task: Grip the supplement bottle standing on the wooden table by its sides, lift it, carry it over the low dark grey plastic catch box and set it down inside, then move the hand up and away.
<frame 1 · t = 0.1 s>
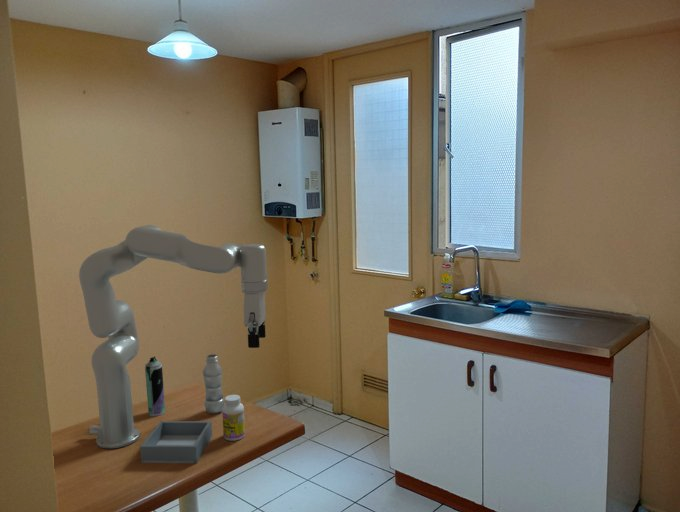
hand: (257, 342, 165), 31 cm above the table, tool pointing down, fingers open, 9 cm apart
spray can: (157, 413, 190), on the table
supplement bottle: (234, 437, 172), on the table
plastic bottle: (215, 412, 191), on the table
catch box: (178, 449, 165), on the table
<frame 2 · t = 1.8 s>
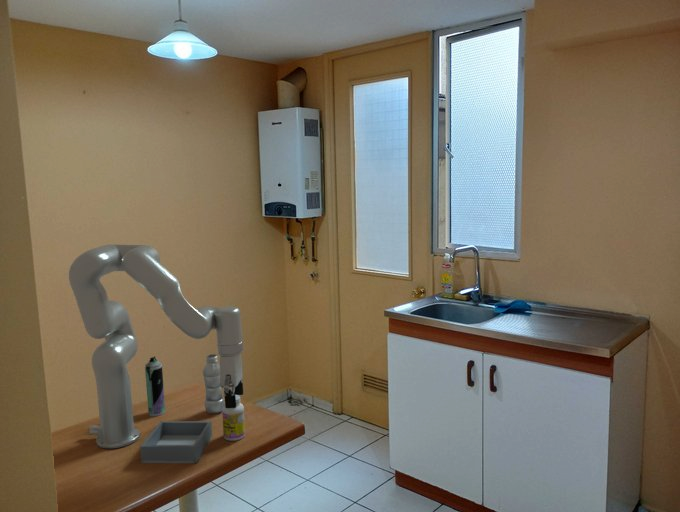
hand: (234, 401, 170), 12 cm above the table, tool pointing down, fingers open, 9 cm apart
nothing on the table moved.
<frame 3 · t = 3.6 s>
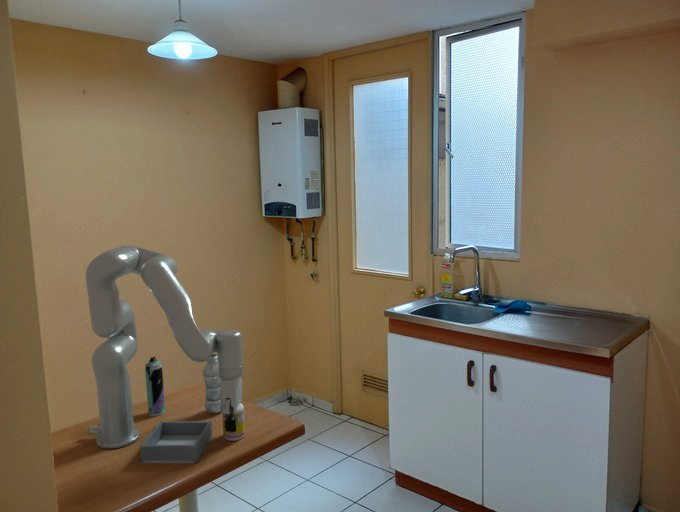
hand: (233, 425, 172), 4 cm above the table, tool pointing down, fingers closed on supplement bottle, 6 cm apart
supplement bottle: (234, 437, 172), on the table, touching gripper
everything else where it was.
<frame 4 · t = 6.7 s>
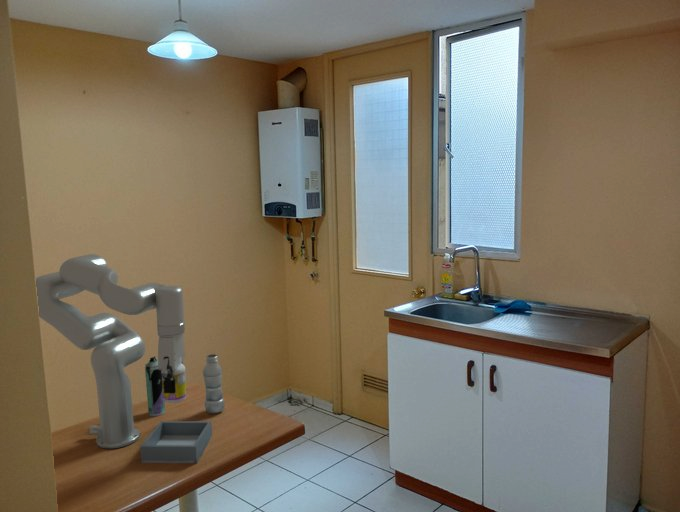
hand: (174, 387, 162), 19 cm above the table, tool pointing down, fingers closed on supplement bottle, 6 cm apart
supplement bottle: (174, 399, 163), point 15 cm above the table, touching gripper
everything else where it was.
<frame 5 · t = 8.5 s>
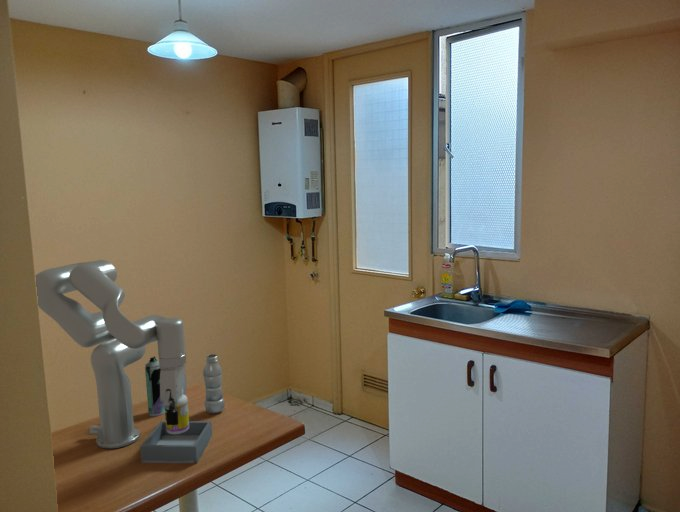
hand: (177, 418, 163), 10 cm above the table, tool pointing down, fingers closed on supplement bottle, 6 cm apart
supplement bottle: (178, 430, 164), point 6 cm above the table, touching gripper
everything else where it was.
when the fingers open (6 cm above the table, at t = 10.1 s): supplement bottle drops 2 cm, resting on catch box.
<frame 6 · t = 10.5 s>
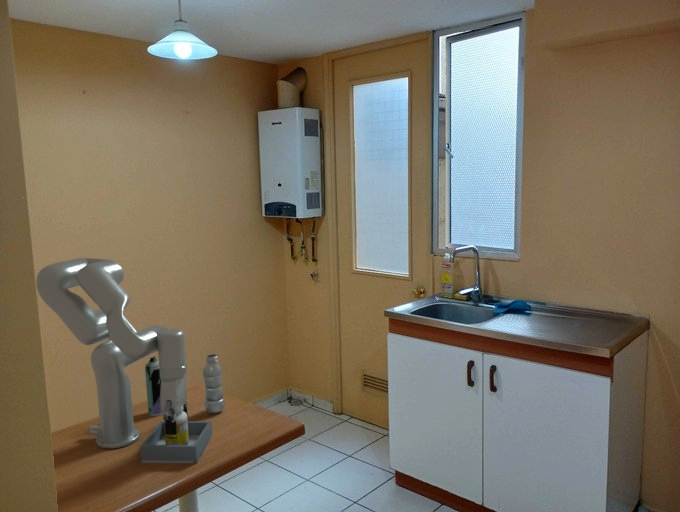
hand: (176, 426, 164), 7 cm above the table, tool pointing down, fingers open, 9 cm apart
supplement bottle: (177, 447, 165), point 1 cm above the table, touching catch box
everything else where it was.
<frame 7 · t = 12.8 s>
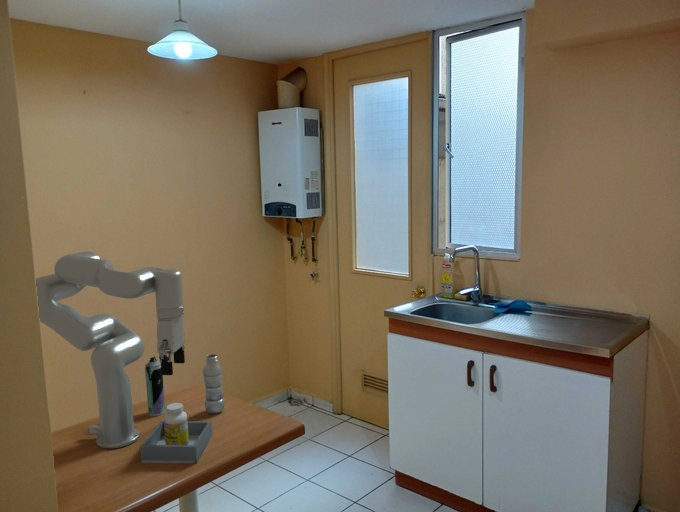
hand: (173, 368, 162), 25 cm above the table, tool pointing down, fingers open, 9 cm apart
nothing on the table moved.
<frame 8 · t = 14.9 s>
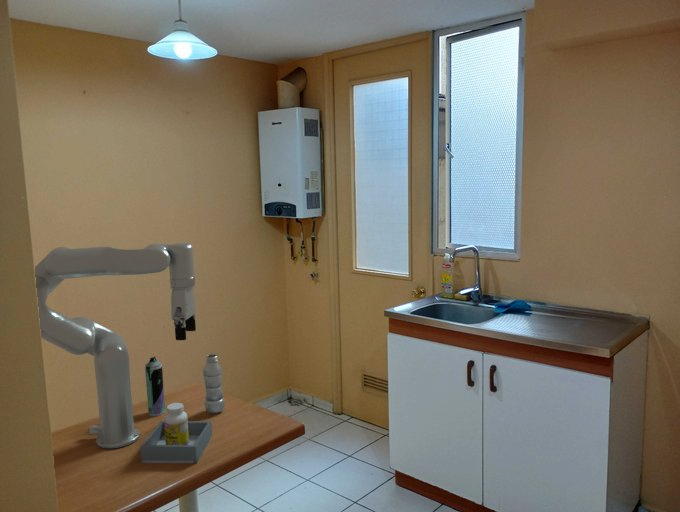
hand: (186, 335, 176), 30 cm above the table, tool pointing down, fingers open, 9 cm apart
nothing on the table moved.
at the end: supplement bottle inside the target area on the catch box (0.2 cm from its centre), point 0.6 cm above the catch box's base; supplement bottle tilted 0°; the gripper is holding nothing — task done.
